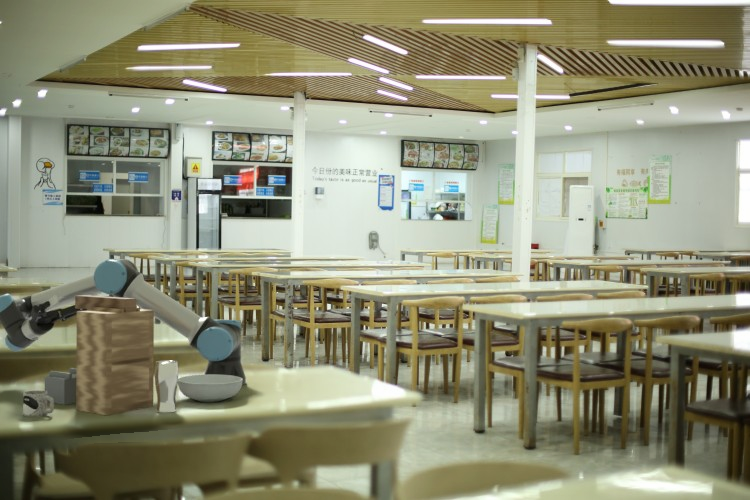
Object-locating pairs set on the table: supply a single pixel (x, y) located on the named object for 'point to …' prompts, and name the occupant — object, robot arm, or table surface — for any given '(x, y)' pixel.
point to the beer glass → (166, 385)
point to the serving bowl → (210, 387)
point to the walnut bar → (105, 302)
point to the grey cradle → (61, 386)
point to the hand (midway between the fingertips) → (74, 298)
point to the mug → (36, 403)
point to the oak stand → (114, 360)
